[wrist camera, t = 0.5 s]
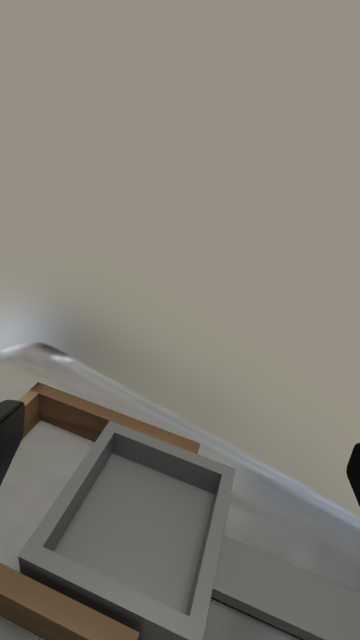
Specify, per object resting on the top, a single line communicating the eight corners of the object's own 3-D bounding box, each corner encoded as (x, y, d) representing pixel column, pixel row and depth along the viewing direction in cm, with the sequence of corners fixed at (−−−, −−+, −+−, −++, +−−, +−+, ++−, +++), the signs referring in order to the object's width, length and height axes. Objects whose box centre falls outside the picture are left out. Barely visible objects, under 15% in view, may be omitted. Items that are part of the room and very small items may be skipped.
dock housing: (124, 681, 16) (130, 661, 14) (-107, 558, 18) (-122, 530, 17) (192, 468, 26) (200, 443, 25) (39, 408, 29) (38, 382, 27)
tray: (452, 802, 15) (525, 790, 12) (22, 585, 18) (16, 544, 16) (397, 566, 23) (434, 531, 20) (106, 449, 26) (110, 409, 24)
